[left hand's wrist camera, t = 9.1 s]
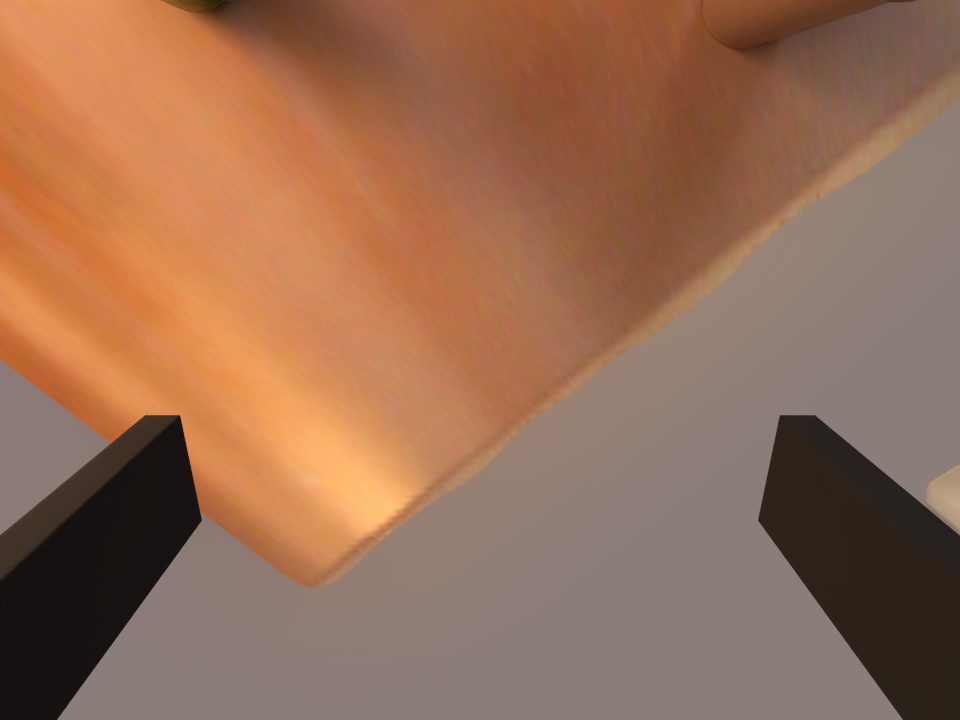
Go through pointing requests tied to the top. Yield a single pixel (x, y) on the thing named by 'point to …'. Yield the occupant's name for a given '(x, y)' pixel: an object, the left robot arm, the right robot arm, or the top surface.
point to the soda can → (195, 4)
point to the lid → (899, 0)
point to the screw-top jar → (773, 18)
